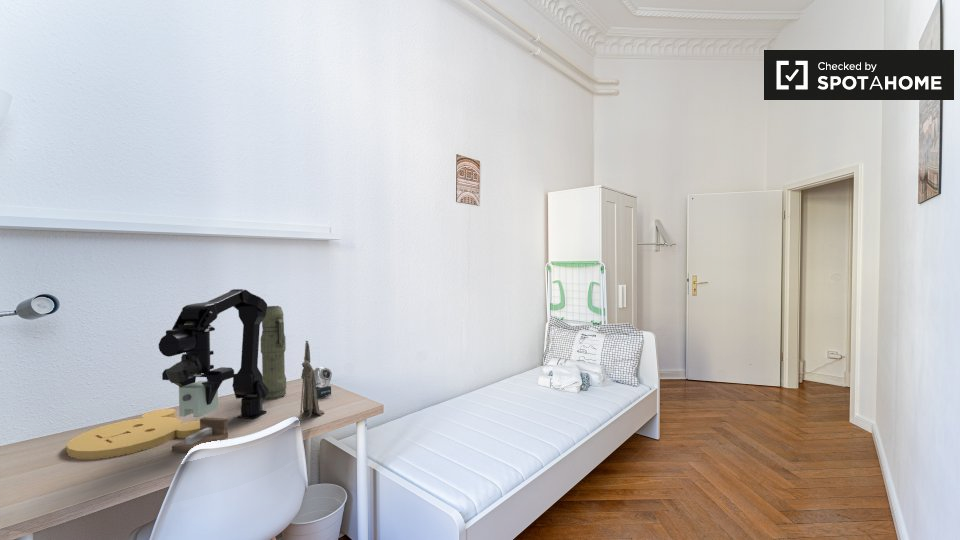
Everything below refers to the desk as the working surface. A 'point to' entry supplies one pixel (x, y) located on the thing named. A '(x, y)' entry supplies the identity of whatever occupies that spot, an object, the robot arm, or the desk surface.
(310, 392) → the wizard figurine
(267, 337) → the thermos
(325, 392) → the watch
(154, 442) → the decorative plaque
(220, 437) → the cleat board
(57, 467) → the desk surface
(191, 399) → the cabinet block
